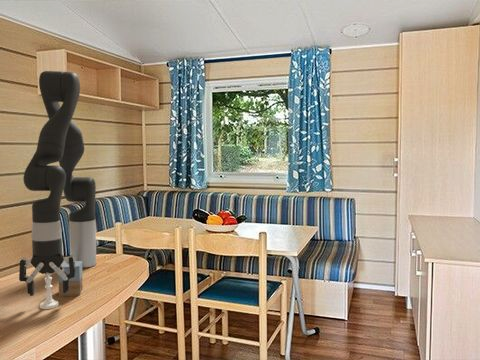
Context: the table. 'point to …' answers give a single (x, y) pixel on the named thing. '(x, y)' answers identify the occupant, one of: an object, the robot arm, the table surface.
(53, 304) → the chess piece
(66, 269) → the slate-blue block
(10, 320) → the table surface
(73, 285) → the walnut block
